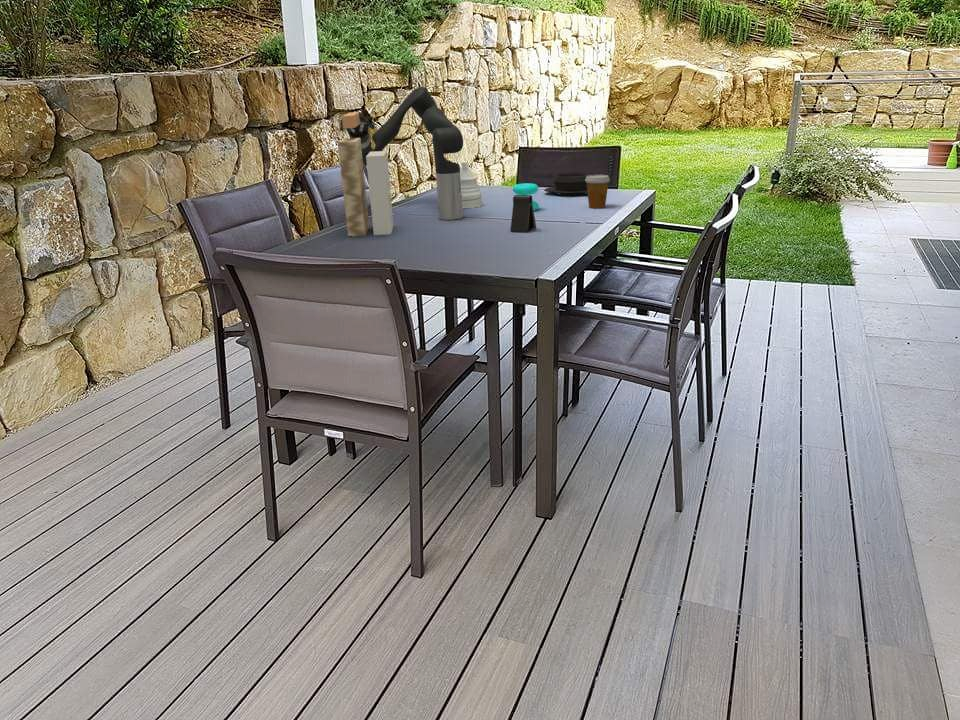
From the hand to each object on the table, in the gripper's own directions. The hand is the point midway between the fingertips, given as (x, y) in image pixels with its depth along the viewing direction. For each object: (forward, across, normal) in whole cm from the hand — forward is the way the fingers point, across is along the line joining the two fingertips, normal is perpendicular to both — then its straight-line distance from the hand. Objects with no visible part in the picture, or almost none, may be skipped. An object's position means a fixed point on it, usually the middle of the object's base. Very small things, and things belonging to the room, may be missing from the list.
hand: (353, 114), depth 276 cm
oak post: (-1, 0, -45) cm, 45 cm away
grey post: (-1, -9, -45) cm, 46 cm away
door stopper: (+10, -58, -52) cm, 79 cm away
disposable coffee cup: (-21, -92, -34) cm, 100 cm away
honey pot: (-37, -41, -24) cm, 60 cm away
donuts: (-23, -64, -33) cm, 75 cm away
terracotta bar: (+5, 0, -6) cm, 8 cm away
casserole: (-52, -88, -16) cm, 103 cm away
